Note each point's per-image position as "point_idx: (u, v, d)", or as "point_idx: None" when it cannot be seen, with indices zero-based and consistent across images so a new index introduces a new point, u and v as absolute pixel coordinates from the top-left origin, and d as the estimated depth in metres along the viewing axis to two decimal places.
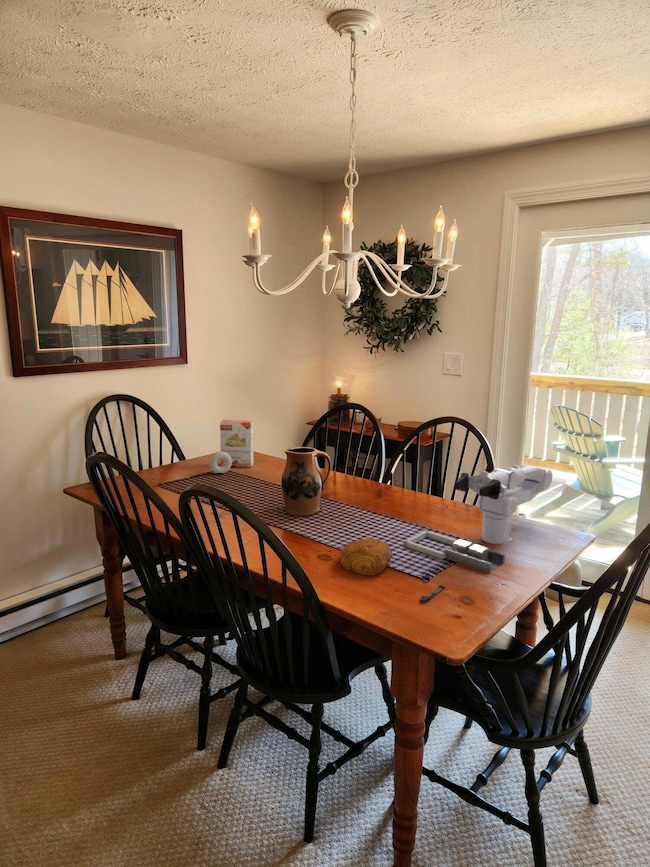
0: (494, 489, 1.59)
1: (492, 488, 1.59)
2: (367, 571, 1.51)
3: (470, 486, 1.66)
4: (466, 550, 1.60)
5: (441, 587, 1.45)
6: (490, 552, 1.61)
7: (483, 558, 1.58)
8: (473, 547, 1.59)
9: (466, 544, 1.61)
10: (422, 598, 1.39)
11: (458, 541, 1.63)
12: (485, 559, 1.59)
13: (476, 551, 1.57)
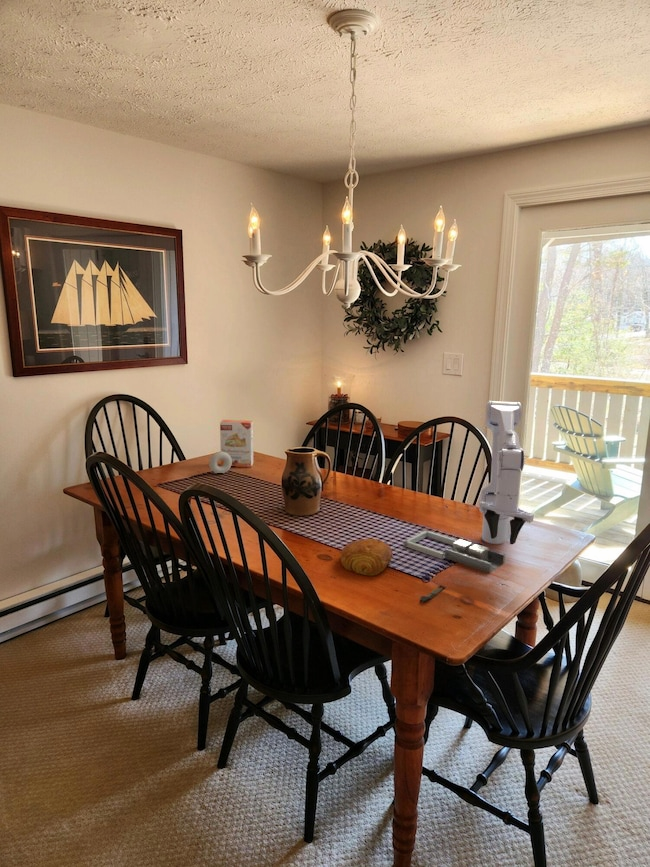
0: None
1: None
2: (367, 571, 1.51)
3: None
4: (466, 550, 1.60)
5: (441, 587, 1.45)
6: (490, 552, 1.61)
7: (483, 558, 1.58)
8: (473, 547, 1.59)
9: (466, 544, 1.61)
10: (422, 598, 1.39)
11: (458, 541, 1.63)
12: (485, 559, 1.59)
13: (476, 551, 1.57)
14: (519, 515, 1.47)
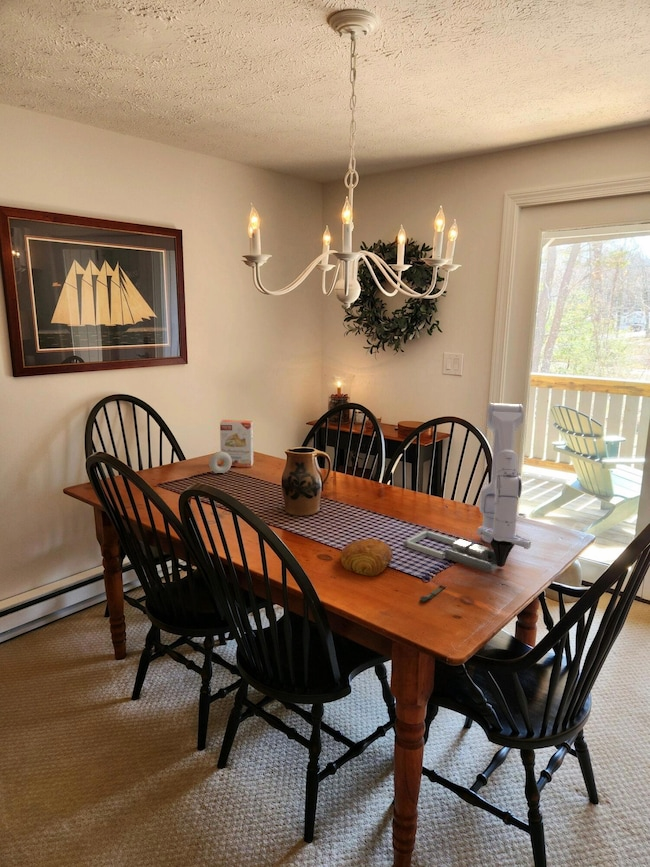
0: None
1: None
2: (367, 571, 1.51)
3: None
4: (466, 550, 1.60)
5: (441, 588, 1.45)
6: (490, 552, 1.61)
7: (483, 558, 1.58)
8: (473, 547, 1.59)
9: (466, 544, 1.61)
10: (422, 599, 1.39)
11: (458, 541, 1.63)
12: (485, 559, 1.59)
13: (476, 551, 1.57)
14: (516, 541, 1.49)
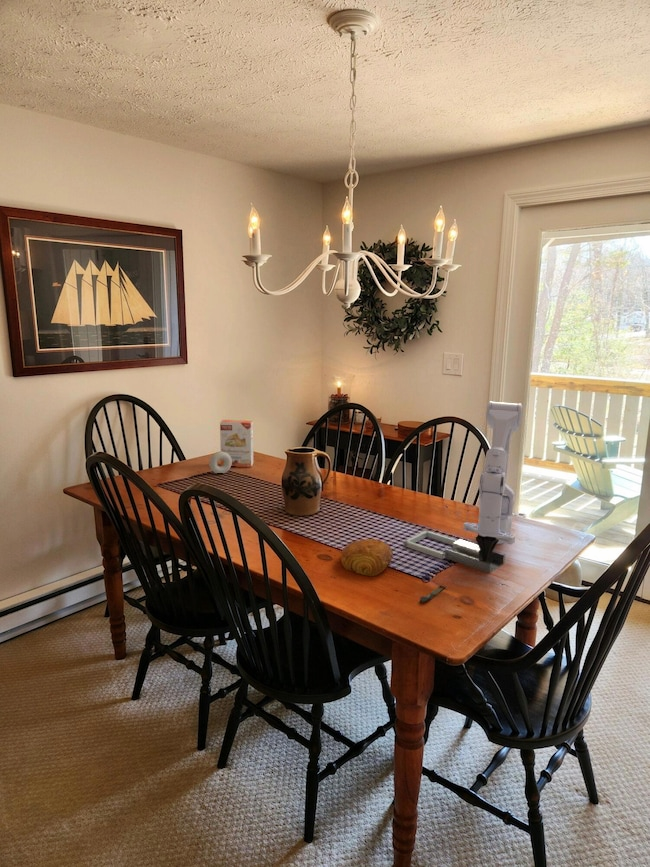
0: None
1: None
2: (368, 571, 1.51)
3: None
4: None
5: (440, 588, 1.45)
6: None
7: (480, 557, 1.58)
8: (470, 546, 1.59)
9: (466, 544, 1.61)
10: (421, 599, 1.39)
11: (458, 541, 1.63)
12: None
13: (473, 550, 1.58)
14: (501, 537, 1.52)
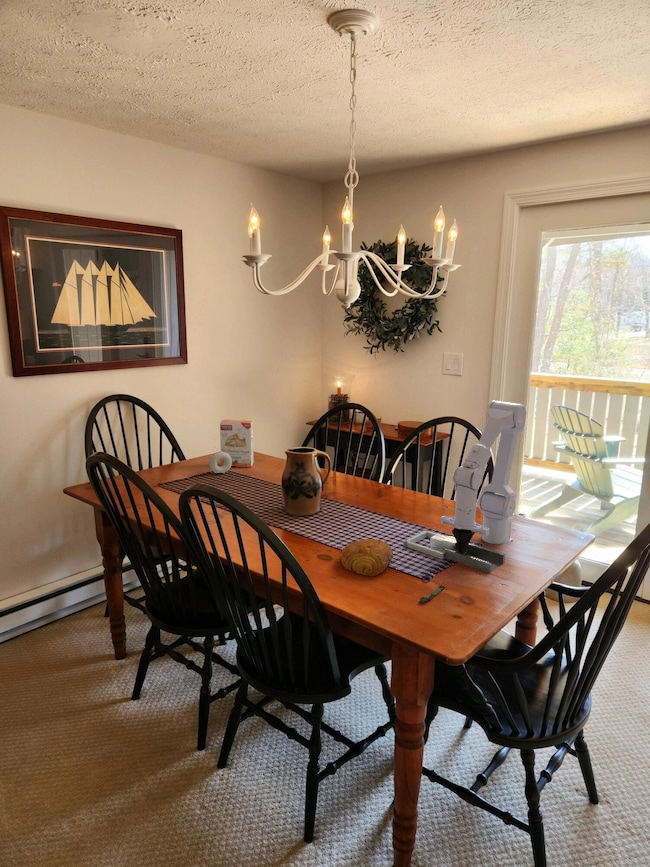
0: None
1: None
2: (368, 571, 1.51)
3: None
4: None
5: (440, 588, 1.45)
6: (490, 552, 1.61)
7: (456, 549, 1.63)
8: (447, 539, 1.64)
9: (443, 538, 1.66)
10: (421, 599, 1.38)
11: (436, 536, 1.68)
12: None
13: (449, 542, 1.63)
14: (476, 529, 1.57)
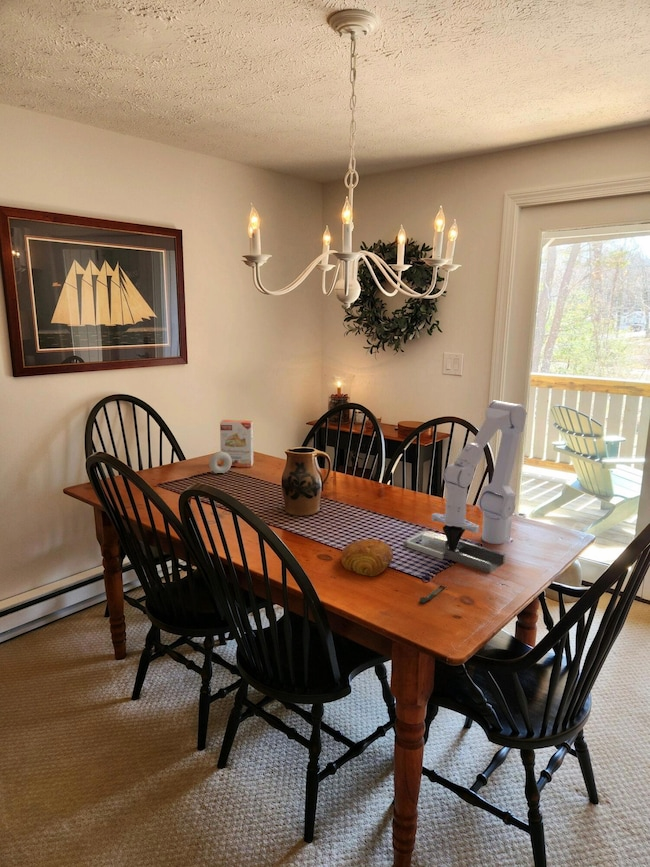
0: None
1: None
2: (368, 572, 1.51)
3: None
4: None
5: (440, 588, 1.45)
6: (490, 552, 1.61)
7: (447, 547, 1.65)
8: (438, 537, 1.66)
9: (434, 536, 1.68)
10: (421, 599, 1.38)
11: (427, 533, 1.70)
12: None
13: (440, 540, 1.65)
14: (466, 526, 1.59)
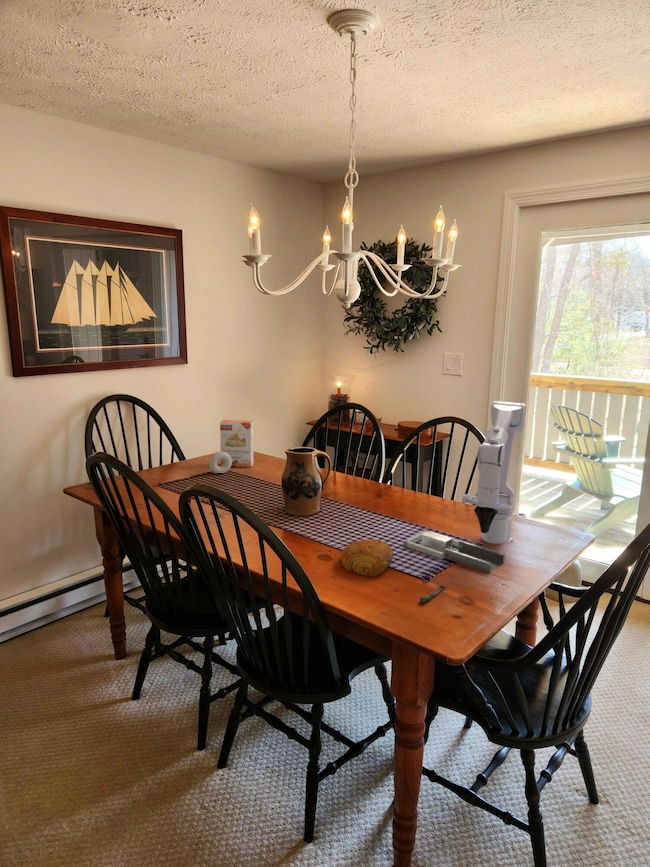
0: None
1: None
2: (368, 572, 1.51)
3: None
4: None
5: (440, 589, 1.45)
6: (490, 552, 1.61)
7: None
8: (438, 538, 1.67)
9: (434, 536, 1.68)
10: (421, 600, 1.38)
11: (427, 533, 1.70)
12: None
13: (440, 541, 1.65)
14: (499, 507, 1.53)
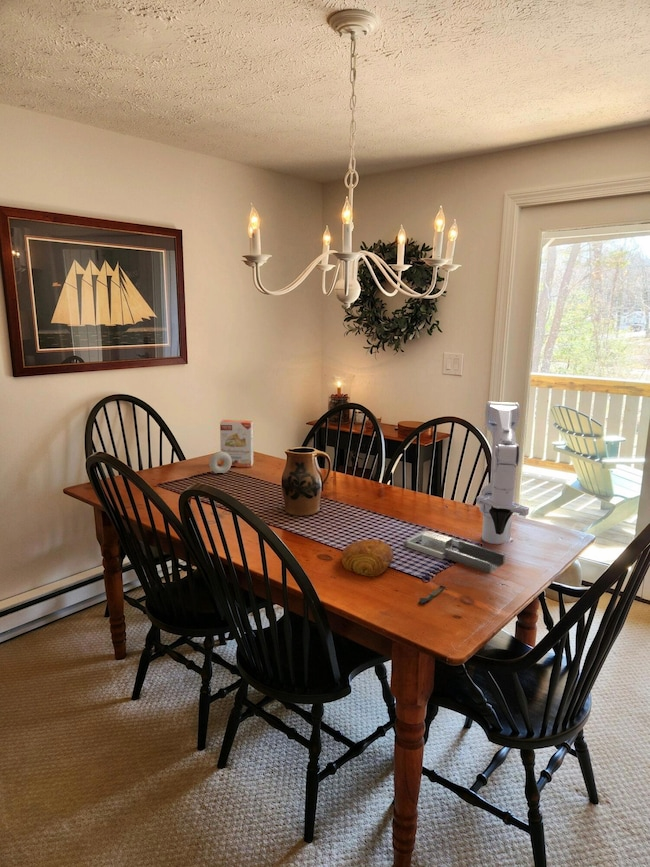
0: None
1: None
2: (368, 572, 1.50)
3: None
4: None
5: (440, 589, 1.44)
6: (490, 552, 1.61)
7: None
8: (438, 538, 1.67)
9: (434, 536, 1.68)
10: (420, 600, 1.38)
11: (427, 533, 1.70)
12: None
13: (440, 541, 1.65)
14: (515, 508, 1.52)
